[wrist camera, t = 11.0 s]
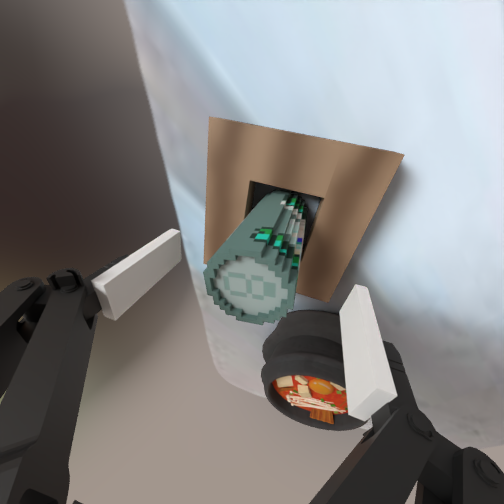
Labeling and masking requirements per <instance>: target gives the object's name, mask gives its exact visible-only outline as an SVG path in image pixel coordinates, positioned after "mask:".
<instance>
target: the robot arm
mask: <svg viewBox="0 0 504 504" xmlns="http://www.w3.org/2000/svg"><path fill="white" fill-rule="evenodd" d="M180 261H181V241H180V231H178V230H174V229H170V230H168V231H167V232H165V233H164V234H162V235H161V236H159V237H158V238H156V239H155V240H153V241H152V242H150V243H148V244H147V245H145V246H144V247H142V248H141V249H139V250H138V251H136V252H135V253H133V254H131V255H124V256H121V257H118V258H117V259H115V260H114V261H112V262H111V263H109V264H107V265H105V267H103V268H101V269H99V270H97V271H96V272H94V273H93V274H91V275H89V276H88V277H86V278H85V279H83V278H82V275H81V273H80V271H79V270H77V269H74V268H66V269H62V270H58V271H56V272H54V273H52V274H50V275H49V276H48V277H47V281H48V282H49V284H50V285H44V283H43V282H42V280H41V279H40V278H38V277H27V278H23V279H19V280H17V281H15V282H13V283H11V284H10V285H8V286H7V287H6V288H5V289H4V290H3V291H1V292H0V398H1V397H2V395H3V394H4V393H5V391H6V390H7V391H6V393H5V395H4V398H3V400H2V402H1V404H0V504H66V501H67V496H68V490H69V482H70V475H69V468H68V462H69V456H70V451H71V446H72V441H73V436H74V432H75V426H76V422H77V417H78V412H79V407H80V402H81V397H82V392H83V387H84V382H85V377H86V372H87V368H88V363H89V358H90V353H91V348H92V343H93V338H94V332H95V328H96V323H97V313H98V312H99V311H100V310H101V309H102V311H103V314H104V316H105V317H108V318H110V319H113V320H116V319H118V318H119V316H121V315H122V314H123V313H124V312H125V311H126V310H127V309H128V308H129V307H131V306H132V305H133V304H134V303H135V302H136V301H137V300H138V299H139V298H140V297H141V296H143V295H144V294H145V293H146V292H147V291H148V290H149V289H150V288H151V287H152V286H154V285H155V284H156V283H157V282H158V281H159V280H160V279H161V278H162V277H163V276H164V275H165V274H167V273H168V272H169V271H170V270H171V269H172V268H173V267H174V266H175V265H176V264H177V263H178V262H180ZM339 313H340V324H341V336H342V347H343V359H344V370H345V382H346V393H347V405H348V415H350V416H353V417H355V418H358V419H360V420H363V421H366V420H368V419H369V418H370V417H371V418H372V424H373V427H372V428H371V429H369V430H368V431H367V432H365V433H364V434H363V436H364V437H363V438H362V439H361V441H360V442H359V443H358V444H357V446H356V447H355V448H354V449H353V451H352V452H351V453H350V454H349V455H348V457H347V458H346V459H345V460H344V462H343V463H342V464H341V465H340V467H339V468H338V469H337V470H336V471H335V472H334V474H333V475H332V476H331V477H330V479H329V480H328V481H327V482H326V484H325V485H324V486H323V487H322V488H321V490H320V491H319V492H318V493H317V495H316V496H315V497H314V498H313V500H312V501H311V502H310V503H309V504H405V502H406V500H407V499H408V497H409V495H410V493H411V491H412V489H413V487H414V485H415V483H416V481H418V482H417V490H416V497H415V504H504V473H503V472H502V471H501V469H500V468H499V467H498V466H497V465H496V463H495V462H494V461H493V460H491V459H490V458H489V457H488V456H487V455H486V454H485V453H483V452H481V451H480V450H478V449H476V448H473V447H467V448H464V449H461V448H459V447H458V446H456V445H455V444H453V443H452V442H451V441H449V440H448V439H446V438H445V437H443V436H442V435H440V434H439V433H438V432H437V431H435V428H434V427H433V425H432V423H431V421H430V420H429V419H428V418H427V417H426V416H425V414H424V413H422V412H421V411H420V410H419V409H418V407H417V404H416V401H415V398H414V395H413V392H412V389H411V386H410V383H409V380H408V378H407V375H406V374H405V373H406V372H405V369H404V366H403V363H402V360H401V357H400V354H399V352H398V351H397V350H396V348H395V347H394V345H393V344H392V343H389V342H386V341H383V340H382V338H381V335H380V331H379V327H378V324H377V320H376V317H375V313H374V309H373V306H372V302H371V299H370V295H369V291H368V288H367V287H364V286H360V285H357V284H355V286H354V288H353V289H352V291H351V293H350V294H349V296H348V298H347V299H346V301H345V303H344V305H343V306H342V308H341V310H340V311H339ZM22 316H23V317H24V318H23V319H22V320H21V321H20V322H18V320H19V319H20V318H21V317H22ZM7 388H8V389H7ZM73 504H82V503H80V502H78V501H76V500H75V501H74V502H73Z"/></svg>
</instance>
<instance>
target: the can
mask: <svg viewBox="0 0 504 504" xmlns="http://www.w3.org/2000/svg"><path fill="white" fill-rule="evenodd" d="M304 202H305V201H301V197H298V194H291V190H274V191H273V192H272V193H267V195H266V196H264V198H263V199H261V201H260V202H259V203H258V204H257V205H256V206H255V207H254V209H253V210H252V211H251V212H250V213H249V214H248V216H247V217H246V218H245V219H244V220H243V221H242V223H241V224H240V225H239V226H238V227H237V228H236V229H235V231H234V232H233V233H232V234H231V235H230V236H229V238H228V239H227V240H226V241H225V242H224V243H223V244H222V246H221V247H220V248H219V249H218V250H217V251H216V253H215V254H214V255H213V256H212V257H211V258H210V259H209V261H208V262H207V268H206V269H205V271H204V272H203V274H204V279H205V284H206V289H207V294H208V295H210V296H213V300H214V304H215V305H219V306H220V309H221V310H225V313H226V314H227V315H232V316H236V320H239V321H244V322H249V323H254V324H259V325H263V323H264V322H268V323H274V322H275V320H279V321H280V318H281V317H286V316H287V310H288V309H291V310H293V306H294V300H295V293H296V286H297V280H298V273H299V266H300V260H301V253H302V246H303V240H304V233H305V227H306V218H307V208H304Z"/></svg>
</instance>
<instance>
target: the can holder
mask: <svg viewBox="0 0 504 504" xmlns="http://www.w3.org/2000/svg"><path fill="white" fill-rule="evenodd" d="M403 157H404V154H400V153H397V152H392V151H387V150H382V149H377V148H372V147H367V146H361V145H356V144H351V143H346V142H341V141H336V140H330V139H325V138H320V137H315V136H310V135H305V134H299V133H294V132H289V131H284V130H279V129H274V128H268V127H263V126H258V125H253V124H248V123H243V122H238V121H232V120H227V119H222V118H215V117H209V132H208V159H207V186H206V212H205V239H204V264H207V262H208V261H209V259H210V258H211V257H212V256H213V255H214V254H215V253H216V251H217V250H218V249H219V248H220V247H221V246H222V244H223V243H224V242H225V241H226V240H227V239H228V238H229V236H230V235H231V234H232V233H233V232H234V231H235V229H236V228H237V227H238V226H239V225H240V224H241V223H242V221H243V220H244V219H245V218H246V217H247V216H248V214H249V213H250V212H251V208H252V202H253V196H254V190H255V184H256V182H259V183H264V184H268V185H272V186H276V187H280V188H285V189H289V190H293V191H297V192H301V193H306V194H310V195H314V196H318V197H322V198H321V201H320V204H319V207H318V210H317V212H316V215H315V218H314V221H313V224H312V227H311V230H310V232H309V235H308V238H307V241H306V244H305V247H304V249H303V250H302V253H301V260H300V266H299V273H298V280H297V286H296V293H299V294H302V295H305V296H308V297H311V298H315V299H318V300H321V301H324V302H327V303H328V302H329V300H330V298H331V296H332V294H333V292H334V291H335V289H336V287H337V285H338V283H339V281H340V279H341V277H342V275H343V273H344V271H345V269H346V267H347V265H348V263H349V261H350V260H351V258H352V256H353V254H354V252H355V250H356V248H357V246H358V244H359V242H360V240H361V238H362V236H363V234H364V232H365V230H366V229H367V227H368V225H369V223H370V221H371V219H372V217H373V215H374V213H375V211H376V209H377V207H378V205H379V203H380V201H381V199H382V198H383V196H384V194H385V192H386V190H387V188H388V186H389V184H390V182H391V180H392V178H393V176H394V174H395V172H396V170H397V168H398V167H399V165H400V163H401V161H402V159H403Z"/></svg>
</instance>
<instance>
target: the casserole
mask: <svg viewBox="0 0 504 504" xmlns="http://www.w3.org/2000/svg"><path fill="white" fill-rule="evenodd" d="M262 352H263V358H264V360H265V362H266V364H265V365H264V366H263V368H262V371H261V378H262V382H263V384H264V390H265V395H266V397H267V399H268V400H269V402H270V403H271V404H272V405H273V406H274V407H275V408H276V409H277V410H279V411H280V412H281V413H283V414H284V415H286V416H288V417H289V418H291V419H293V420H295V421H297V422H300V423H302V424H305V425H308V426H311V427H315V428H319V429H325V430H335V431H342V430H343V431H344V430H352V429H355V428H358V427H361V426H363V425H364V424H366V423H367V421H368V420H369V419H368V420H366V421H363V420H360V419H358V418H355V417H353V416H350V415H348V405H347V393H346V382H345V370H344V359H343V347H342V336H341V324H340V315H337V314H333V313H329V312H325V311H316V310H298V311H293V312H289V313H287V316H286V317H282V318H281V320H280V321H279V323H278V325H277V327H276V329H275V330H274V331H273V332H272V334H271V335H270V336H269V337H268V338H267V339H266V340H265V342H264V344H263V350H262Z"/></svg>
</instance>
